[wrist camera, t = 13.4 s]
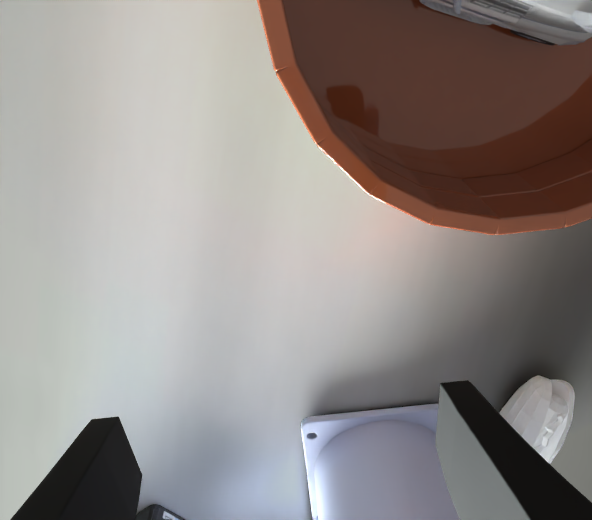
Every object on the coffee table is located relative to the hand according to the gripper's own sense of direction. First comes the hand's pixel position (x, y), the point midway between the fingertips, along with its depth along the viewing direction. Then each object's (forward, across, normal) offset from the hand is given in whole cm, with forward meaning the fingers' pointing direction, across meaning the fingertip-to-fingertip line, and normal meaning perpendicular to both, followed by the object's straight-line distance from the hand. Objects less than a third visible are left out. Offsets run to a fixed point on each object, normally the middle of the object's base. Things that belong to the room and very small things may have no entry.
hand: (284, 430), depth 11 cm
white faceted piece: (+10, -11, +12) cm, 19 cm away
